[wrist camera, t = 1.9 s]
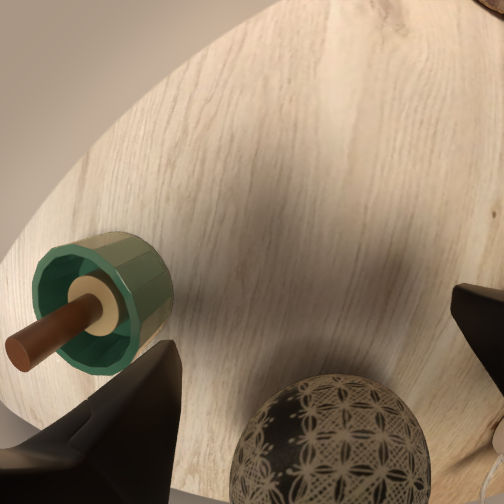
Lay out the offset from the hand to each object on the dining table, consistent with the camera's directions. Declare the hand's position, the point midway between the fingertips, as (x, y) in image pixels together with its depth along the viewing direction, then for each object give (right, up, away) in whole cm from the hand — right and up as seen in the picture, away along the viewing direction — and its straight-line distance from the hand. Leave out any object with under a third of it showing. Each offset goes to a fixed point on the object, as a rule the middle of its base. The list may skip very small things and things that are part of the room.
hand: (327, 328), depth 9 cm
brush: (-12, -1, +12) cm, 17 cm away
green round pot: (-12, 0, +13) cm, 17 cm away
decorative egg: (+3, -9, +13) cm, 16 cm away
